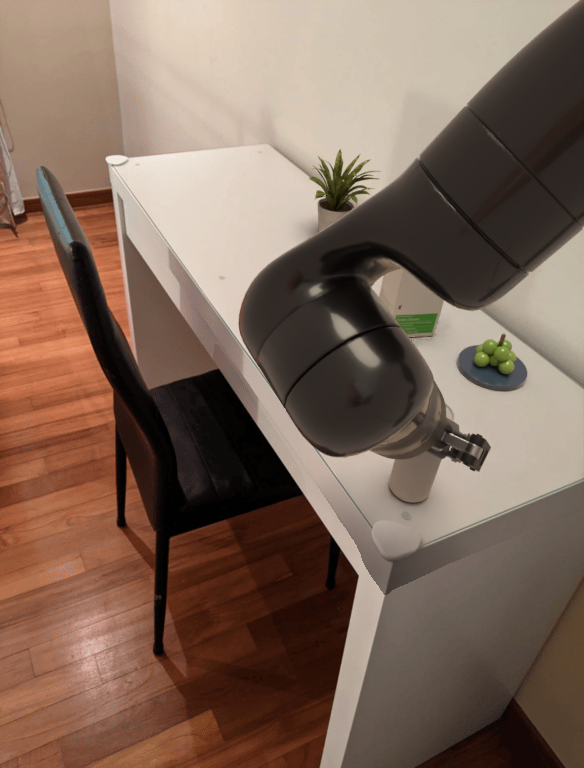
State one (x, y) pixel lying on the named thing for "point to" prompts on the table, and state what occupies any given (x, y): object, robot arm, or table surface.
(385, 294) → the cosmetic box
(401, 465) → the beverage can
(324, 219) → the house plant
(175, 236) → the table surface
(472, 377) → the grapes
